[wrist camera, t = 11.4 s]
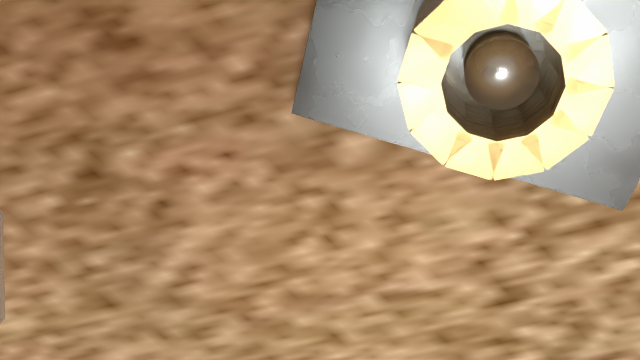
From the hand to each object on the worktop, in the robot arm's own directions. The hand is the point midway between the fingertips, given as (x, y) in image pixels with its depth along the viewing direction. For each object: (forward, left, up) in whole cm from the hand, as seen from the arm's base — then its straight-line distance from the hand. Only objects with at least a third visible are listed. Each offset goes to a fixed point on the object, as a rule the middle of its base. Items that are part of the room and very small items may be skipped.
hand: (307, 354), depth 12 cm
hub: (+4, +3, -21) cm, 21 cm away
